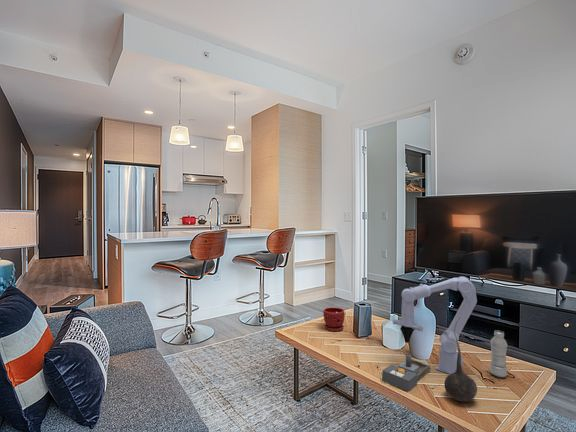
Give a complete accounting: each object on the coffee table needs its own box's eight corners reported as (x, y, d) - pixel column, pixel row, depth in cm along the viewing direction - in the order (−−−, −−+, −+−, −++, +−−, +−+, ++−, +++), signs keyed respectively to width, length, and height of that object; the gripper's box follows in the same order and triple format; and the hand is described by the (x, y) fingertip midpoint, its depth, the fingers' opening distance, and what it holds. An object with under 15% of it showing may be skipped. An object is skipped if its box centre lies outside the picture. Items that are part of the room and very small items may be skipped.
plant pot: (346, 327, 207) (346, 308, 207) (341, 334, 195) (341, 314, 195) (326, 323, 212) (327, 305, 212) (320, 330, 200) (320, 311, 200)
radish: (477, 393, 133) (478, 320, 132) (476, 410, 121) (478, 330, 120) (446, 385, 139) (447, 315, 138) (442, 401, 127) (444, 324, 126)
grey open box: (417, 384, 139) (417, 373, 139) (408, 391, 133) (408, 379, 133) (391, 374, 147) (391, 363, 147) (382, 380, 142) (382, 369, 142)
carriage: (419, 373, 146) (419, 355, 146) (413, 377, 141) (413, 359, 141) (404, 367, 151) (404, 350, 150) (397, 372, 146) (398, 354, 146)
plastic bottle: (501, 380, 143) (502, 335, 142) (486, 373, 149) (487, 330, 148) (510, 377, 146) (511, 333, 145) (494, 370, 152) (495, 328, 151)
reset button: (406, 378, 141) (406, 369, 141) (402, 380, 139) (402, 372, 139) (399, 375, 143) (399, 367, 143) (396, 378, 141) (396, 369, 141)
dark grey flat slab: (430, 370, 151) (430, 365, 151) (415, 383, 140) (415, 377, 140) (409, 363, 158) (409, 358, 158) (393, 374, 147) (393, 369, 147)
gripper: (426, 316, 155) (425, 344, 155) (397, 309, 166) (397, 335, 166) (419, 319, 150) (419, 348, 151) (390, 312, 161) (390, 339, 161)
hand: (407, 342), depth 158 cm, fingers closed
